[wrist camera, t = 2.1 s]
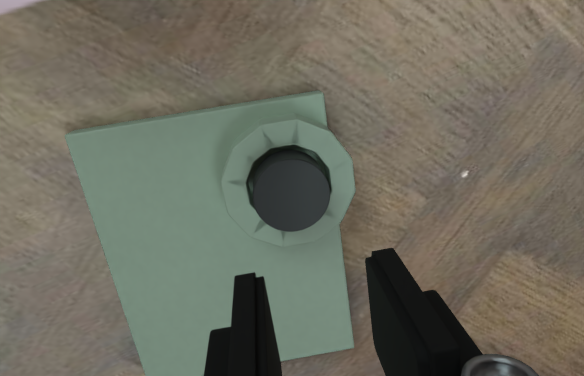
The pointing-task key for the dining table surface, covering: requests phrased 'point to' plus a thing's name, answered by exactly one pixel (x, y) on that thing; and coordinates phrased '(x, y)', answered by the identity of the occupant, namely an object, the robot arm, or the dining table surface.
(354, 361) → the dining table surface
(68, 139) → the green dial board
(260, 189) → the tare button
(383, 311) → the robot arm
